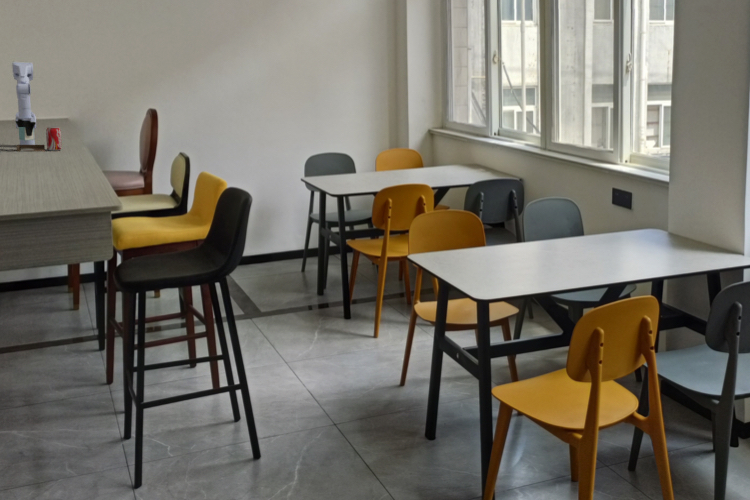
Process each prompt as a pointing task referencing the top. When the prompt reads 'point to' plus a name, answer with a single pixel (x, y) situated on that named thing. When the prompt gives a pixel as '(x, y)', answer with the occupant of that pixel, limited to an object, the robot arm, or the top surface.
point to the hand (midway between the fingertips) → (26, 135)
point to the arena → (30, 147)
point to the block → (23, 134)
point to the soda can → (53, 138)
